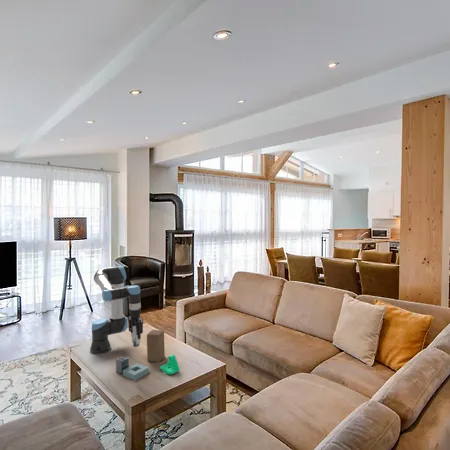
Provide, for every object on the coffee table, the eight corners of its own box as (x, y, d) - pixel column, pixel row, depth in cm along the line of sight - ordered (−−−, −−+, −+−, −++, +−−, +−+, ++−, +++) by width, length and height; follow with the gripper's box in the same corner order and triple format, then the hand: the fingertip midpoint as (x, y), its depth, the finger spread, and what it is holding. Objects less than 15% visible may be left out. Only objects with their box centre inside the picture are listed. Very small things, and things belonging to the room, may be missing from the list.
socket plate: (122, 375, 216) (122, 370, 216) (137, 367, 226) (136, 362, 225) (134, 380, 209) (134, 375, 209) (148, 372, 219) (148, 367, 219)
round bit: (131, 346, 221) (131, 325, 220) (136, 344, 224) (135, 324, 223) (135, 347, 218) (135, 326, 218) (140, 345, 222) (139, 325, 221)
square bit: (116, 372, 220) (115, 359, 219) (123, 368, 225) (123, 356, 224) (121, 374, 216) (121, 361, 216) (129, 371, 221) (128, 358, 221)
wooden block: (159, 362, 233) (159, 335, 232) (146, 361, 235) (146, 334, 234) (165, 356, 243) (164, 330, 242) (152, 355, 245) (152, 329, 244)
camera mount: (159, 370, 222) (159, 355, 222) (169, 366, 228) (168, 351, 227) (170, 376, 214) (169, 361, 213) (179, 372, 219) (179, 357, 219)
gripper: (122, 308, 222) (123, 342, 223) (139, 312, 212) (140, 347, 213) (131, 305, 228) (132, 338, 229) (147, 309, 218) (149, 343, 219)
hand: (136, 342), depth 221 cm, fingers closed on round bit, 4 cm apart
